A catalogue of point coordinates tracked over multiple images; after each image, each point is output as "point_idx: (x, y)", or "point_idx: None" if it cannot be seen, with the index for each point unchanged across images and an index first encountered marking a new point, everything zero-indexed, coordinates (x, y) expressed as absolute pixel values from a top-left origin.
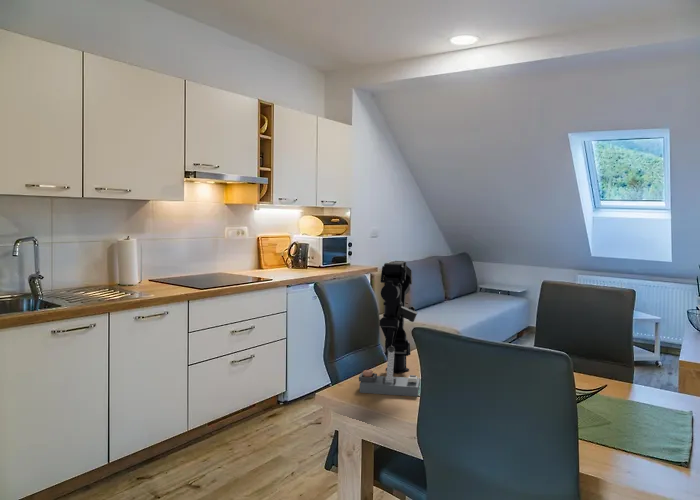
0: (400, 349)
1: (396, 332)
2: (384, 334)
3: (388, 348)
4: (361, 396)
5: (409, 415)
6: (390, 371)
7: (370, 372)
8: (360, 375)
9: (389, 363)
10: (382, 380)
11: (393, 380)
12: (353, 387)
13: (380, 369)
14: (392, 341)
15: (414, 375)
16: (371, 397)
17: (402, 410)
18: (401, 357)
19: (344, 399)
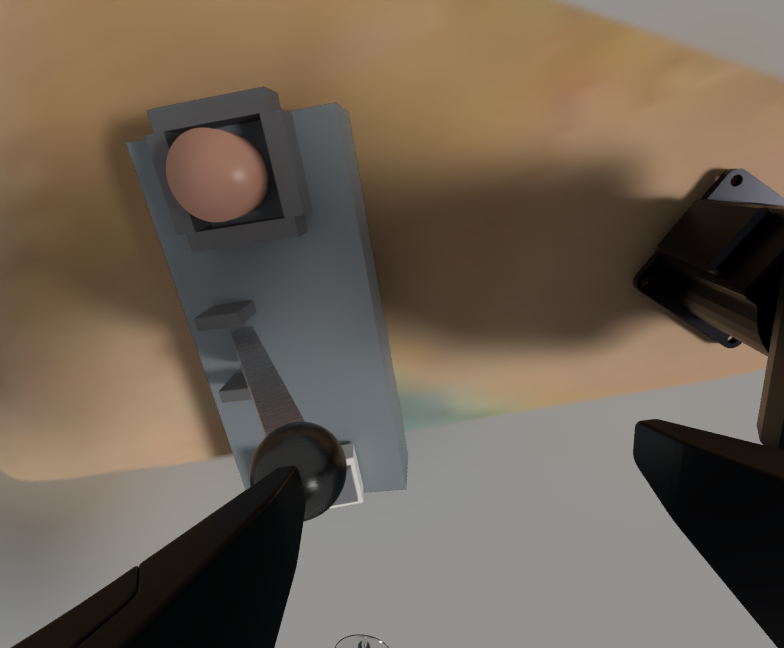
0: (763, 398)
1: (775, 642)
2: (82, 616)
3: (261, 454)
4: (115, 182)
5: (39, 471)
6: (245, 378)
7: (196, 209)
8: (189, 109)
9: (250, 392)
10: (272, 287)
11: (303, 356)
12: (238, 55)
13: (737, 118)
14: (639, 440)
15: (348, 493)
16: (134, 248)
17: (69, 436)
18: (757, 346)
19: (7, 88)
